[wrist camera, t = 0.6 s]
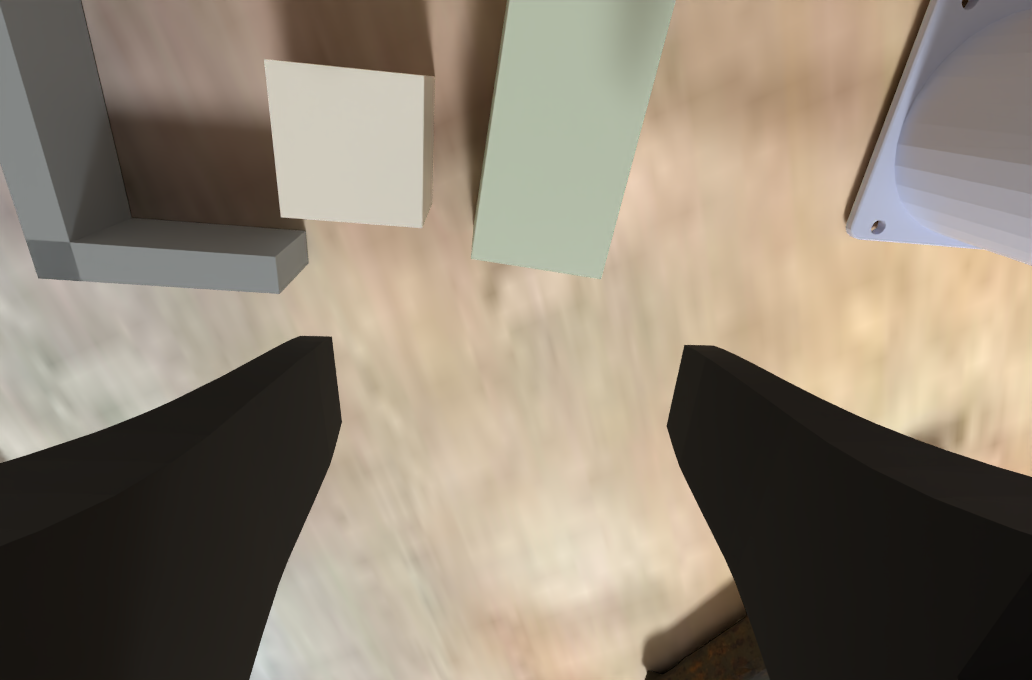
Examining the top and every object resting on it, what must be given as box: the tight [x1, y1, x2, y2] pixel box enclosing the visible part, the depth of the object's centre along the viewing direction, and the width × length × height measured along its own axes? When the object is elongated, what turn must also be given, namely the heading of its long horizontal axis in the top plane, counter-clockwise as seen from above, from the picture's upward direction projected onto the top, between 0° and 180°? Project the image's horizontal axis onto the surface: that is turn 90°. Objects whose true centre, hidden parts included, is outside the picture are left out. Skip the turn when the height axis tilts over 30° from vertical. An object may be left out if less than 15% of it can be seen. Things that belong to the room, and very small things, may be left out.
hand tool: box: [645, 616, 770, 680], centre depth 27 cm, size 19×4×5 cm, turn 139°
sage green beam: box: [471, 0, 676, 279], centre depth 14 cm, size 4×14×4 cm, turn 169°
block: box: [264, 59, 435, 228], centre depth 16 cm, size 4×4×4 cm
